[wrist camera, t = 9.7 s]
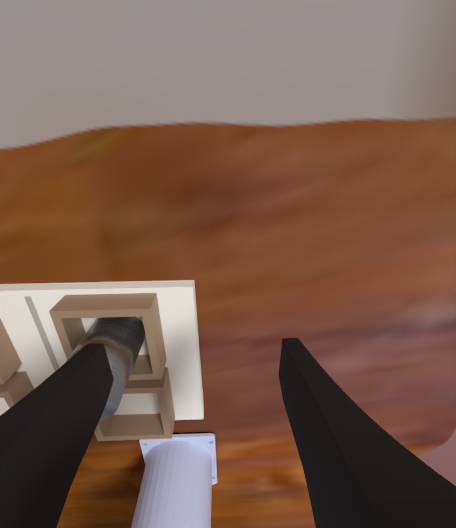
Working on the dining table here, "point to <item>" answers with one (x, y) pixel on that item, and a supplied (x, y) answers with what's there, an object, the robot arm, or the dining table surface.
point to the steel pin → (116, 352)
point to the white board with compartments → (76, 326)
